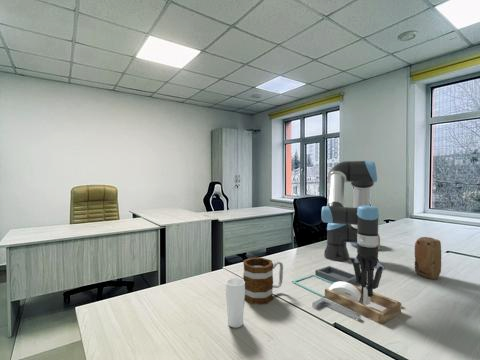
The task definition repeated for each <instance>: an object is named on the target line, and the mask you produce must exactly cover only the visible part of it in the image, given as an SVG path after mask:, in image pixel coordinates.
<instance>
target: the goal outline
mask: <svg viewBox="0 0 480 360" xmlns="http://www.w3.org/2000/svg"><path fill="white" fill-rule="evenodd" d="M311 277H315V278H317V279H319V280H321V281H324V282H327V283H329V284H331V285H332V284H333V283H334V282H331V281H329V280H326V279H324V278H321V277H319V276H316V275H315V274H310V275H306V276H304V277H301V278H298V279H294V280H292V281H291V282H292V284H294V285H296V286H298V287H300V288H303V289H305V290H306V291H309V292H311V293H313V294H315V295H318V296H319V297H321V298H324V299H325V294H322V293H320V292H319V291H315V290H313V289H311V288H309V287H307V286H305V285H303V284H301V283H298V282H300V281H303V280H306V279H309V278H311Z"/></svg>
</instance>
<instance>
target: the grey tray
mask: <svg viewBox="0 0 480 360" xmlns="http://www.w3.org/2000/svg"><path fill="white" fill-rule="evenodd" d="M314 273H315V274H314V275H316V276H319V277H321V278H324V279H326V280H329V281H331V282H334V283H335V282H339V281H342V282H347V283H350V284H353V285H356V284H358V283H357V281H356V276H355V273H351V272H348V271H345V270H342V269H339V268H337V267H334V266H331V265H327V266H325V267H321V268H318V269H315V272H314Z"/></svg>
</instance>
